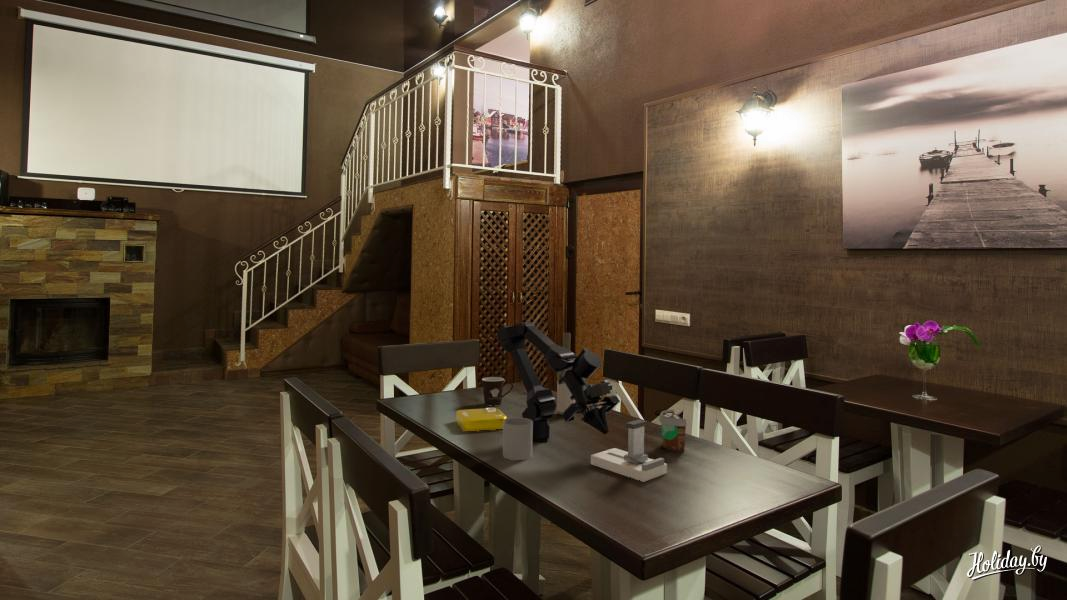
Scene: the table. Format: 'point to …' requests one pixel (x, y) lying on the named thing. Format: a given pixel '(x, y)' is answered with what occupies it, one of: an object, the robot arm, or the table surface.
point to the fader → (636, 442)
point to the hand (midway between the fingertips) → (607, 433)
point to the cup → (517, 438)
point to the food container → (672, 430)
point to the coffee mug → (494, 390)
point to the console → (629, 465)
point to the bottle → (562, 389)
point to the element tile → (480, 419)
